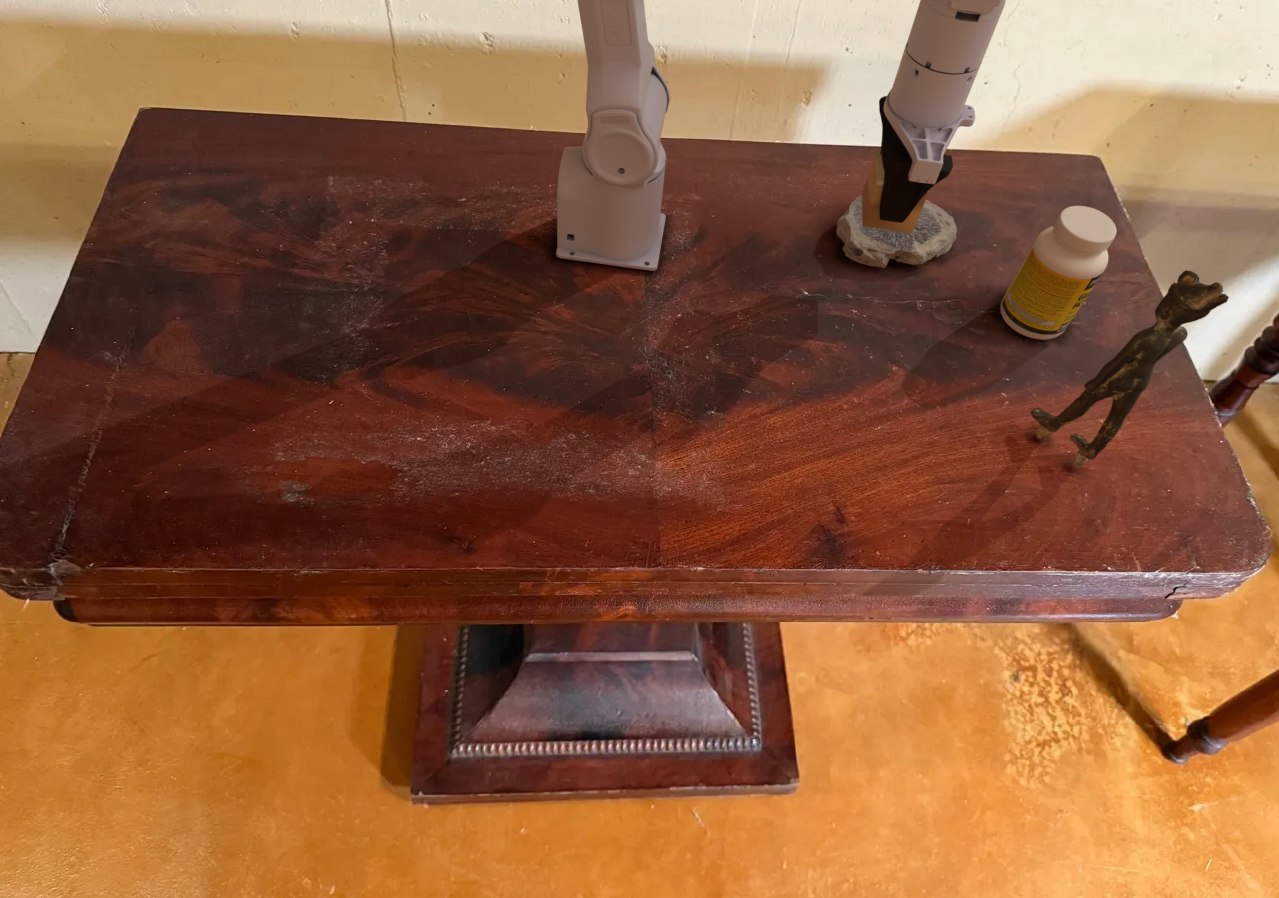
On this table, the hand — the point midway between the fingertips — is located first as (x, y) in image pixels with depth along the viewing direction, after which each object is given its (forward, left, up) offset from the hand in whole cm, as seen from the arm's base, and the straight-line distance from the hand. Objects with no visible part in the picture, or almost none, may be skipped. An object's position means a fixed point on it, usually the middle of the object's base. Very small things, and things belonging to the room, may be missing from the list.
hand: (890, 201), depth 77 cm
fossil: (+3, +5, -9) cm, 11 cm away
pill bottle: (+15, -3, -9) cm, 18 cm away
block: (0, 0, -1) cm, 1 cm away
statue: (+16, -18, -9) cm, 25 cm away
